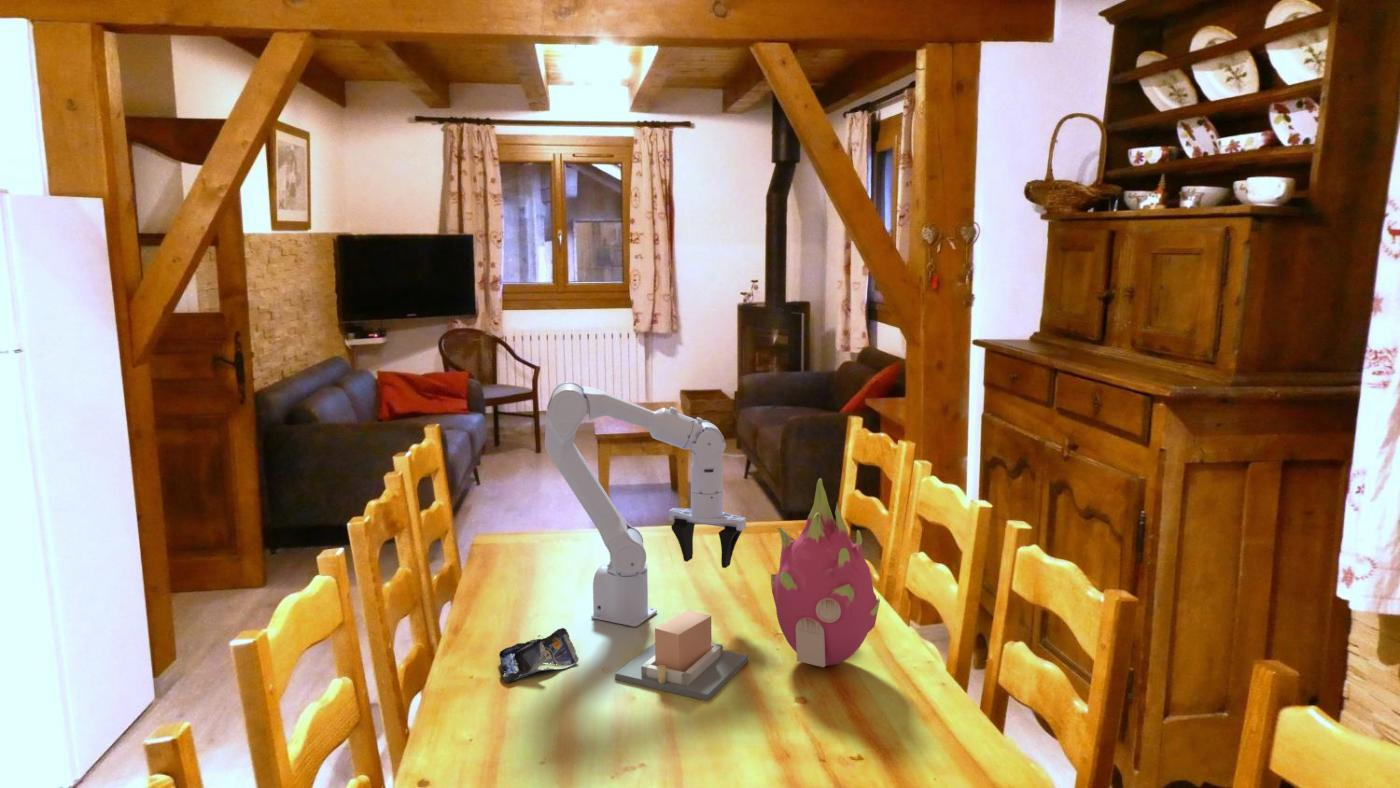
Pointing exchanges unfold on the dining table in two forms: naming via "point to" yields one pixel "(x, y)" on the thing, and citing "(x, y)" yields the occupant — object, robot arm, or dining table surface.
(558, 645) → the snack package
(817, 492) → the pink dragon fruit
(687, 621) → the block
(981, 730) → the dining table surface
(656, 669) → the socket plate
